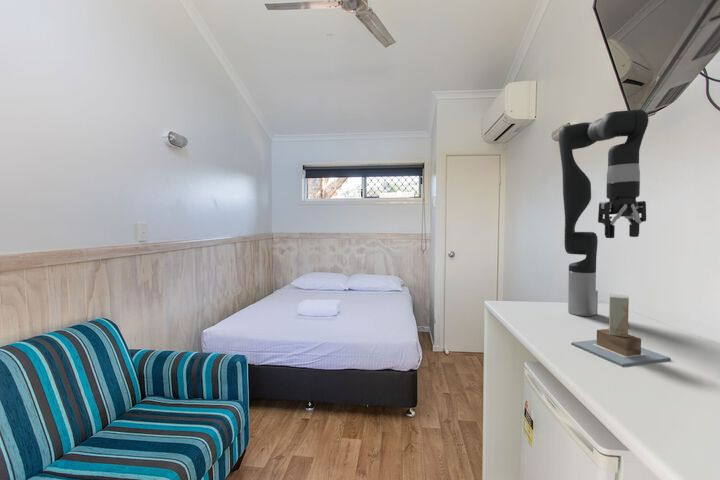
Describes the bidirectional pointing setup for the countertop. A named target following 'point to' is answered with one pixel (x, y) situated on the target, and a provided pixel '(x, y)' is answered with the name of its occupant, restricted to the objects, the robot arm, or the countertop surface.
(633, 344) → the walnut slab
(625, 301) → the box
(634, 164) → the robot arm
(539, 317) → the countertop surface
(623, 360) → the plate
